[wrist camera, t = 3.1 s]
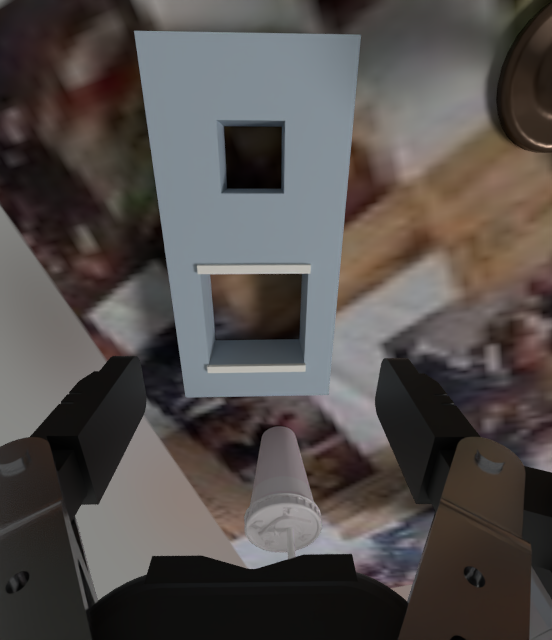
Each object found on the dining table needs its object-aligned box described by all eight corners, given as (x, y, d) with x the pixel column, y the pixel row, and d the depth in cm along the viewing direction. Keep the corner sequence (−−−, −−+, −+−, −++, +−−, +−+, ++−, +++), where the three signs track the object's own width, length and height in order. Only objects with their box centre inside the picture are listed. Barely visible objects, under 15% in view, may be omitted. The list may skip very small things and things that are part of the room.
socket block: (344, 55, 21) (362, 32, 18) (321, 368, 32) (329, 397, 28) (156, 52, 21) (132, 28, 17) (194, 370, 31) (184, 399, 28)
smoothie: (316, 450, 37) (344, 603, 24) (262, 467, 37) (261, 624, 25) (296, 408, 34) (315, 555, 21) (238, 427, 35) (224, 580, 22)
